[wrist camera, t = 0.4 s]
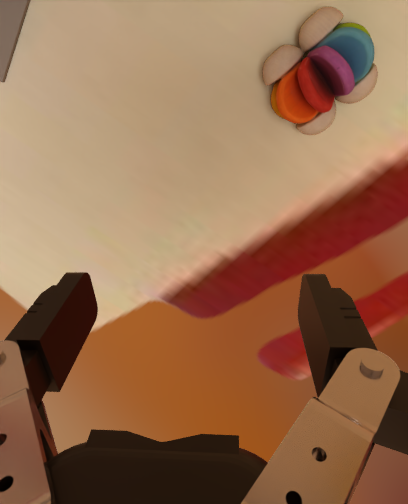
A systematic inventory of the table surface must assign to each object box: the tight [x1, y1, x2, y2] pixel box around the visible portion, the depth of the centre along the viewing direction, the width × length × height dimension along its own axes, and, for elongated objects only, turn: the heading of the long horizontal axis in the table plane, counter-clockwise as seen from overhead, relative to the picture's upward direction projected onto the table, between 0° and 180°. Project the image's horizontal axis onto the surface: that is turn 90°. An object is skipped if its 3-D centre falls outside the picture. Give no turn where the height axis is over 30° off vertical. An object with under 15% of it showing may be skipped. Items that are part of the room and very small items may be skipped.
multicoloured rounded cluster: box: [263, 7, 378, 135], centre depth 30 cm, size 8×10×7 cm
